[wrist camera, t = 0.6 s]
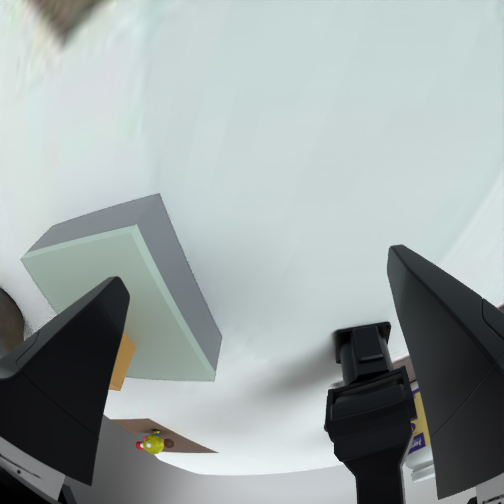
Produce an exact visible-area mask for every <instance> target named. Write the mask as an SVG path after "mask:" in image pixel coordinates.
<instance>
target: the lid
mask: <svg viewBox="0 0 504 504" xmlns="http://www.w3.org/2000/svg"><path fill="white" fill-rule="evenodd" d="M20 260H21V261H22V263H23V265H24V266H25V268H26V269H27V271H28V273H29V274H30V276H31V277H32V279H33V280H34V282H35V283H36V285H37V286H38V288H39V289H40V291H41V292H42V294H43V295H44V297H45V298H46V299H47V301H48V302H49V304H50V305H51V306H52V308H53V309H54V310H55V312H56V313H57V314H60V313H61V312H62V311H64V310H65V309H66V308H67V307H69V306H70V305H71V304H73V303H74V302H75V301H77V300H78V299H79V298H81V297H82V296H83V295H85V294H86V293H88V292H89V291H90V290H92V289H93V288H94V287H96V286H97V285H99V284H100V283H101V282H103V281H104V280H106V279H107V278H108V277H113V276H119V277H120V278H121V279H122V281H123V283H124V284H125V286H126V288H127V290H128V292H129V294H130V302H129V307H128V312H127V317H126V322H125V327H124V332H123V336H122V340H121V344H120V347H119V351H118V354H117V358H116V362H115V366H114V370H113V374H112V378H111V382H110V386H109V389H110V390H117V391H120V389H121V387H122V384H123V381H124V378H125V377H130V378H142V379H155V380H173V381H215V376H216V373H215V371H214V369H213V368H212V366H211V365H210V363H209V361H208V360H207V358H206V356H205V355H204V353H203V351H202V350H201V348H200V346H199V344H198V343H197V341H196V339H195V338H194V336H193V334H192V332H191V331H190V329H189V327H188V325H187V324H186V322H185V320H184V318H183V316H182V314H181V313H180V311H179V309H178V307H177V305H176V303H175V302H174V300H173V298H172V296H171V294H170V292H169V290H168V288H167V286H166V284H165V282H164V280H163V278H162V276H161V275H160V273H159V271H158V268H157V266H156V264H155V262H154V260H153V258H152V256H151V254H150V252H149V250H148V248H147V246H146V244H145V241H144V239H143V237H142V235H141V233H140V231H139V228H138V226H137V224H136V225H132V226H127V227H123V228H119V229H115V230H111V231H106V232H102V233H98V234H94V235H90V236H86V237H82V238H78V239H75V240H71V241H67V242H63V243H60V244H56V245H52V246H49V247H45V248H41V249H38V250H34V251H31V252H28V253H25V255H24V256H23V257H22V258H21V259H20Z"/></svg>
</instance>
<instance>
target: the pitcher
mask: <svg viewBox="0 0 504 504" xmlns="http://www.w3.org/2000/svg"><path fill="white" fill-rule="evenodd" d="M23 331H24V320H23V317H22V314H21V311H20V309H19V308H18V306H17V305H16V303H15V302H14V301H13V299H12V298H11V297H10V296H9V295H8V294H7V293H5V292H4V291H3V290H2V289H1V288H0V359H2V358H3V357H4V356H6V355H7V354H8V353H10V352H11V351H12V350H14V349H15V348H16V347H17V346H19V345H20V344H21V343H23V342H24V338H23Z"/></svg>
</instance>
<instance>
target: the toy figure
mask: <svg viewBox="0 0 504 504" xmlns="http://www.w3.org/2000/svg"><path fill="white" fill-rule="evenodd" d="M151 431H154V433H153V435H148V436H144V437H143V442H137V443H136V447H137V448H138V449H140V450H141V449H145V450H146V451H147V452H149V453H152V454H157V453H159V452H161V451H162V449H163V446H165V447H167V448H172V447H173V446H174V441H173V440H172V439H169V438H168V439H165V440H164V441H162V440H161V438H159V437H158V436H159V432H160V431H159V430H156V429H155V430H151ZM156 431H157V433H156ZM155 434H156V435H155Z"/></svg>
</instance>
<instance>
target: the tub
mask: <svg viewBox="0 0 504 504" xmlns="http://www.w3.org/2000/svg"><path fill="white" fill-rule="evenodd" d="M136 224H137V226H138V228H139V231H140V233H141V235H142V237H143V239H144V241H145V244H146V246H147V248H148V250H149V252H150V254H151V256H152V258H153V260H154V262H155V264H156V266H157V268H158V271H159V273H160V275H161V276H162V278H163V280H164V282H165V284H166V286H167V288H168V290H169V292H170V294H171V296H172V298H173V300H174V302H175V303H176V305H177V307H178V309H179V311H180V313H181V314H182V316H183V318H184V320H185V322H186V324H187V325H188V327H189V329H190V331H191V332H192V334H193V336H194V338H195V339H196V341H197V343H198V344H199V346H200V348H201V350H202V351H203V353H204V355H205V356H206V358H207V360H208V361H209V363H210V365H211V366H212V368H213V369H214V371H215V373H216V368H217V363H218V357H219V351H220V346H221V340H222V336H221V333H220V331H219V329H218V327H217V325H216V323H215V321H214V319H213V317H212V315H211V313H210V310H209V308H208V306H207V304H206V302H205V300H204V298H203V295H202V293H201V291H200V289H199V287H198V284H197V282H196V280H195V278H194V275H193V273H192V271H191V269H190V266H189V264H188V262H187V259H186V257H185V255H184V252H183V250H182V248H181V245H180V243H179V241H178V238H177V236H176V233H175V231H174V229H173V226H172V224H171V221H170V219H169V216H168V214H167V211H166V209H165V206H164V204H163V201H162V199H161V196H160V193H159V194H155V195H151V196H147V197H144V198H140V199H136V200H133V201H129V202H126V203H122V204H119V205H116V206H112V207H109V208H106V209H102V210H99V211H96V212H93V213H90V214H86V215H83V216H80V217H77V218H74V219H71V220H68V221H65V222H62V223H60V224H57V225H54V226H52V227H51V228H50V229H49V230H48V231H47V232H46V233H45V234H44V235H43V236H42V237H41V238H40V239H39V240H38V241H37V242H36V243H35V244H34V245H33V246H32V247H31V248H30V249H29V250H28V251H27V252H26V253H28V252H31V251H34V250H38V249H41V248H45V247H49V246H52V245H56V244H60V243H63V242H67V241H71V240H75V239H78V238H82V237H86V236H90V235H94V234H98V233H102V232H106V231H111V230H115V229H119V228H123V227H127V226H132V225H136Z"/></svg>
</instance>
